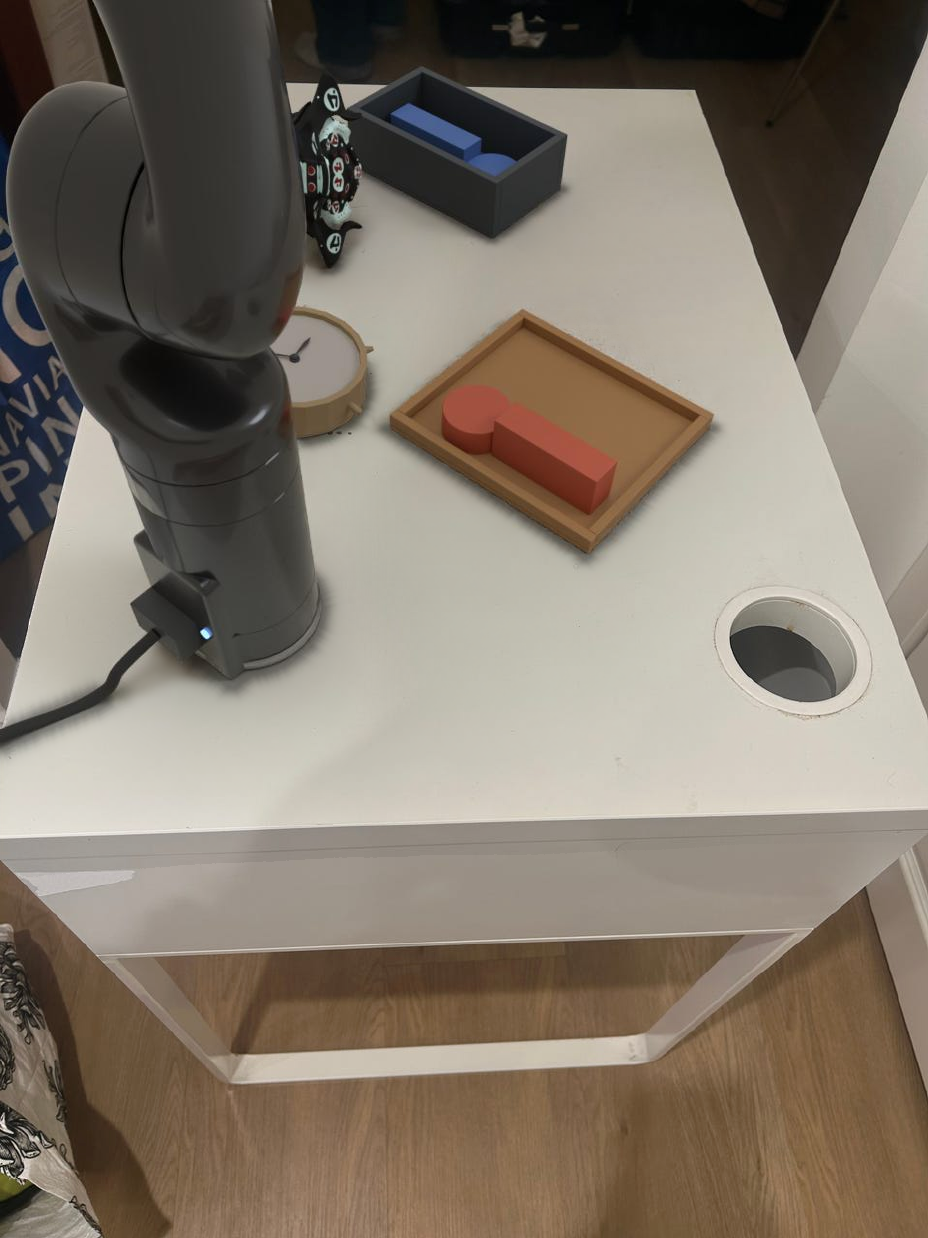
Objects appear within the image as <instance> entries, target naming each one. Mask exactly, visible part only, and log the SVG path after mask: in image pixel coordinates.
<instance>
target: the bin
mask: <svg viewBox="0 0 928 1238" xmlns="http://www.w3.org/2000/svg"><path fill="white" fill-rule="evenodd" d="M408 103H409V104H411V105H413V106H415V107H417V108H419V109H422V110H424V111H426V112H428V113H430V114H432V115H434V116H436V117H438V118H440V119H442V120H444V121H446V122H448V123H450V124H452V125H454V126H457V127H459V128H461V129H463V130H465V131H467V132H469V133H471V134H473V135H475V136H477V137H479V138H481V155H482V154H500V155H504V156H507V157H510V158H512V159H513V160H515V161H516V162H515V163H514V164H512V165H511V166H510V167H508V168H507V169H505V170H504V171H502V172H501V173H499V174H498V175H496V176H493V175H491V174H489V173H487V172H485V171H483V170H481V169H479V168H477V167H475V166H473V165H471V164H469V163H467V162H465V161H463V160H461V159H459V158H457V157H455V156H453V155H451V154H449V153H447V152H445V151H443V150H441V149H439V148H437V147H435V146H433V145H431V144H429V143H427V142H425V141H423V140H421V139H419V138H417V137H415V136H413V135H411V134H409V133H407V132H405V131H403V130H401V129H399V128H397V127H395V126H393V125H391V113H392V112H394V111H396V110H398V109H399V108H401V107H403V106H404V105H406V104H408ZM346 110H347V111H349V112H351V113H358V112H359V113H361V114H362V117H361V118H359V119H357V120H355V121H346V122H347V127H348V128H349V129H350V131H351V133H350V135H349V140H348V142H349V143H350V144H352V146H353V148H354V150H355V152H356V155H357V157H358V159H359V164H361V169H362V170H361V171H363V172H365V173H367V174H369V175H371V176H373V177H375V178H376V179H378V180H380V181H382V182H384V183H385V184H388V185H390V186H392V187H394V189H395V188H396V189H397V190H399V191H401V192H403V193H405V194H407V195H409V196H411V197H412V198H414V199H416V200H418V201H420V202H422V203H424V204H426V205H428V206H429V207H432V208H434V209H435V210H437V211H439V212H440V213H443V214H444V215H446V216H449V217H450V218H452V219H454V220H456V221H458V222H460V223H461V224H464V225H465V226H467V227H469V228H471V229H473V230H475V231H477V232H478V233H481V234H483V235H485V236H486V237H488V238H490V239H494V238H495V237H497V236H498V235H500V234H501V233H502V232H503V231H505V230H506V229H508V228H509V227H511V226H512V225H514V224H515V223H516V222H517V221H519V220H520V219H521V218H523V217H524V216H525V215H527V214H529V213H530V212H531V211H532V210H534V209H535V208H536V207H538V206H540V205H541V204H542V203H543V202H545V201H547V199H549V198H551V197H553V195H554V194H556V193H557V192H558V191H560V190H561V188H562V182H563V175H564V174H563V173H564V166H565V160H566V152H567V151H566V150H567V144H568V136H569V135H568V134H567V133H565V132H563V131H561V130H559V129H557V128H554V127H552V126H550V125H548V124H547V123H544V122H542V121H540V120H538V119H536V118H533V117H531V116H529V115H528V114H524V113H523V112H521V111H518V110H516V109H514V108H512V107H510V106H508V105H505V104H503V103H501V102H499V101H497V100H495V99H492V98H491V97H488V96H486V95H484V94H482V93H480V92H478V91H475V90H474V89H472V88H469V87H467V86H465V85H463V84H460V83H458V82H456V81H455V80H453V79H450V78H448V77H447V76H443V75H441V74H440V73H437V72H435V71H433V70H431V69H429V68H426V67H424V66H422V65H420V66H419V67H417V68H416V69H413V70H412V71H410V72H408V73H407V74H405V75H402V76H401V77H399V78H398V79H396V80H394V81H393V82H391V83H389V84H387V85H385V86H384V87H382V88H380V89H378V90H377V91H375V92H373V93H371V94H370V95H368V96H366V97H364V98H362V99H361V100H358V101H357V102H355V103H353V104H352V105H350V106H348V107H346Z"/></svg>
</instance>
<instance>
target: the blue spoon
mask: <svg viewBox="0 0 928 1238" xmlns="http://www.w3.org/2000/svg"><path fill="white" fill-rule="evenodd" d="M391 125H393V126H395V127H397V128H399V129H401V130H403V131H405V132H407V133H409V134H411V135H413V136H415V137H417V138H419V139H421V140H423V141H425V142H427V143H429V144H431V145H433V146H435V147H437V148H439V149H441V150H443V151H445V152H447V153H449V154H451V155H453V156H455V157H457V158H459V159H461V160H463V161H465V162H467V163H469V164H471V165H473V166H475V167H477V168H479V169H481V170H483V171H485V172H487V173H489V174H491V175H493V176H496V175H498V174H499V173H501V172H502V171H504V170H505V169H507V168H508V167H510V166H511V165H512V164H514V163H515V162H516V161H515V160H513V159H512V158H510V157H507V156H504V155H500V154H482V155H481V138H479V137H477V136H475V135H473V134H471V133H469V132H467V131H465V130H463V129H461V128H459V127H457V126H454V125H452V124H450V123H448V122H446V121H444V120H442V119H440V118H438V117H436V116H434V115H432V114H430V113H428V112H426V111H424V110H422V109H419V108H417V107H415V106H413V105H411V104H409V103H408V104H406V105H404V106H403V107H401V108H399V109H398V110H396V111H394V112H392V113H391Z"/></svg>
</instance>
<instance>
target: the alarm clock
mask: <svg viewBox="0 0 928 1238" xmlns="http://www.w3.org/2000/svg"><path fill="white" fill-rule="evenodd" d="M270 348H271V349H272V350H273V351H274V352H275V354H276V355H277V357H278V358H279V360H280V361H281V363H282V365H283V368H284V370H285V372H286V375H287V379H288V383H289V388H290V394H291V401H292V408H293V415H294V422H295V429H296V436H297V438H307V437H312V436H317V435H321V434H326V433H329V432H331V431H333V430H335V429H337V428H340V427H341V426H344V425H345V424H347V423H348V422H350V420H351V419H352V418H353V417H354V416H355V415H358V416H362V415H363V414H364V410H363V409H362V406H363V403H364V401H365V399H366V396H367V372H368V365H369V363H368V354H370V353H372V352H374V350H375V349H374V346H373V345H365V343H364V341H363V339H362V337H361V335H360V333H358V332H357V330H355V329H354V328H353V327H352V326H351V325H349V324H348V323H347V322H346V321H345V320H343V319H341V318H339V317H338V316H335V315H333V314H332V313H329V312H327V311H324V310H320V309H316V308H312V307H307V306H301V305H299V306H298V305H297V306H295V308H294V311H293V313H292V315H291V317H290V319H289V321H288V323H287V326H286V327H285V329H284V330H283V332H282V333H281V335H280V336H279V337H278V338H277V340H276V341H275V342H274V343H273V344H272V345H271V346H270Z"/></svg>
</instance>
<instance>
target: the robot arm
mask: <svg viewBox="0 0 928 1238" xmlns="http://www.w3.org/2000/svg"><path fill="white" fill-rule="evenodd" d="M92 2H93V4H94V7H95V9H96V11H97V14H98V16H99V18H100V21H101V23H102V25H103V28H104V30H105V32H106V35H107V37H108V40H109V42H110V46H111V48H112V52H113V54H114V57H115V60H116V63H117V66H118V69H119V73H120V75H121V78H122V83H123V85H124V87H123V86H119V85H115V84H111V83H107V82H102V81H92V80H91V81H90V80H84V81H83V80H82V81H75V82H71V83H67V84H66V83H65V84H62V85H60V86H58V87H55V88H54V89H52V90H50V91H48V92H47V93H45V94H44V95H43V96H42V97H41V98H40V99H39V100H38V101H37V102H36V103H34V105H33V106H32V107H31V108H30V109H29V111H28V112H27V113H26V115H25V116H24V117H23V119H22V121H21V123H20V125H19V126H18V128H17V132H16V134H15V135H14V139H13V142H12V145H11V147H10V152H9V158H8V163H7V168H6V178H5V179H6V180H5V199H6V200H5V201H6V214H7V220H8V227H9V232H10V237H11V242H12V244H13V250H14V253H15V256H16V259H17V263H18V265H19V267H20V268H19V269H20V270H21V274H22V277H23V280H24V281H25V285H26V287H27V289H28V292H29V294H30V296H31V298H32V301H33V303H34V305H35V308H36V310H37V312H38V315H39V316H40V319H41V321H42V323H43V325H44V327H45V329H46V332H47V334H48V336H49V339H50V340H51V342H52V345H53V347H54V349H55V351H56V353H57V355H58V358H59V360H60V362H61V364H62V366H63V369H64V371H65V373H66V375H67V378H68V380H69V382H70V384H71V387H72V388H73V391H74V393H75V394H76V396H77V398H78V399H79V401H80V403H81V404H82V405H83V407H84V408H85V410H86V411H87V412H88V413H89V414H90V415H91V417H92V418H93V419H95V421H96V422H98V424H100V426H102V428H104V430H106V431H107V433H108V434H109V436H110V438H111V441H112V444H113V447H114V449H115V451H116V454H117V456H118V459H119V462H120V465H121V468H122V470H123V473H124V476H125V479H126V481H127V485H128V488H129V490H130V493H131V496H132V499H133V501H134V504H135V507H136V510H137V513H138V516H139V518H140V521H141V524H142V526H143V529H142V530H140V531H139V532H138V533H137V534H135V535H134V536H133V540H132V541H133V544H134V546H135V549H136V552H137V555H138V557H139V560H140V562H141V565H142V567H143V571H144V573H145V575H146V578H147V580H148V583H149V585H150V586H149V588H147V589H146V590H145V591H144V592H142V593H141V594H139V595H138V596H137V597H136V598H135V599H133V600H132V601H131V602H130V603H129V605H130V607H131V610H132V613H133V615H134V617H135V620H136V622H137V624H138V627H140V628H141V629H142V630H143V631H145V632H146V633H145V635H143V636H142V638H140V639H139V640H138V641H137V642H136V643H134V645H133V646H131V648H129V649H128V650H127V651H126V652H125V653H124V654H123V655H122V656H121V657H120V658H119V660H118V661H117V662H116V663H115V664H114V665H113V666H112V668H111V669H110V671H109V673H108V674H107V677H106V680H105V681H104V682H103V683H102V684H101V685H99V686H98V687H97V688H96V689H94V690H93V691H91V692H89V693H88V694H86V695H85V696H82V697H81V698H79V699H77V700H74V701H73V702H71V703H70V702H69V703H68V704H66V705H63V706H61V707H58V708H55V709H53V710H50V711H46V712H44V713H41V714H38V715H35V716H32V717H29V718H26V719H23V720H20V721H18V722H15V723H12V724H10V725H9V724H8V725H7V726H5V727H2V728H0V744H2V743H5V742H8V741H9V740H11V739H14V738H17V737H20V736H22V735H25V734H27V733H30V732H33V731H36V730H39V729H42V728H45V727H47V726H50V725H52V724H54V723H57V722H60V721H62V720H65V719H67V718H71V717H72V716H74V715H77V714H79V713H82V712H85V711H86V710H88V709H91V708H93V707H94V706H96V705H97V704H100V703H101V702H102V701H104V700H105V699H107V698H108V697H110V696H111V695H112V694H113V693H114V692H115V691H116V690H117V688H118V686H119V685H120V682H121V680H122V677H123V676H124V675H125V673H126V672H127V671H128V670H129V669H130V668H131V667H132V666H133V665H134V664H135V663H136V662H137V661H138V660H139V659H140V658H141V657H142V656H143V655H144V654H145V653H146V652H147V651H149V650H150V649H151V648H152V647H153V646H154V645H155V644H156V643H157V642H158V643H159V644H160V645H162V646H163V647H164V648H165V649H166V650H168V652H170V653H171V654H172V655H174V656H175V657H176V658H177V659H179V660H180V661H181V662H182V663H185V662H186V661H187V660H188V659H190V657H191V656H193V655H194V654H195V655H196V656H198V657H199V658H201V659H202V660H203V661H206V663H208V664H210V665H211V666H212V667H213V668H214V669H216V670H217V671H218V672H219V673H220V674H222V676H224V677H225V678H227V679H229V680H233V679H235V678H236V677H238V675H239V674H240V673H242V672H243V671H245V670H252V669H259V668H264V667H268V666H271V665H274V664H276V663H279V662H281V661H283V660H285V659H287V658H289V657H290V656H292V655H294V654H295V653H296V652H298V651H299V650H300V649H301V648H303V646H305V644H307V642H308V641H309V639H311V637H312V635H313V634H314V632H315V630H316V629H317V626H318V624H319V622H320V618H321V613H322V596H321V595H322V594H321V591H320V590H321V589H320V586H319V583H318V580H317V573H316V565H315V564H316V563H315V559H314V558H315V557H314V552H313V545H312V537H311V529H310V523H309V517H308V510H307V509H308V508H307V504H306V503H307V501H306V496H305V495H306V494H305V488H304V482H303V481H304V479H303V473H302V465H301V460H300V452H299V451H300V450H299V444H298V437H297V436H296V429H295V422H294V415H293V408H292V401H291V394H290V388H289V383H288V379H287V375H286V372H285V370H284V368H283V365H282V363H281V361H280V360H279V358H278V357H277V355H276V354H275V352H274V351H273V350H272V349H271V348H270V346H271V345H272V344H273V343H274V342H275V341H276V340H277V338H278V337H279V336H280V335H281V333H282V332H283V330H284V329H285V327H286V326H287V323H288V321H289V319H290V317H291V315H292V313H293V311H294V308H295V306H296V305H297V301H298V298H299V294H300V292H301V287H302V283H303V278H304V272H305V265H306V256H307V255H306V253H307V235H308V234H307V223H306V209H305V195H304V184H303V177H302V169H301V163H300V157H299V152H298V146H297V140H296V134H295V128H294V123H293V117H292V113H293V112H292V108H291V102H290V97H289V91H288V85H287V80H286V75H285V70H284V64H283V59H282V52H281V48H280V43H279V37H278V32H277V27H276V22H275V15H274V12H273V5H272V0H92Z"/></svg>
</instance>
